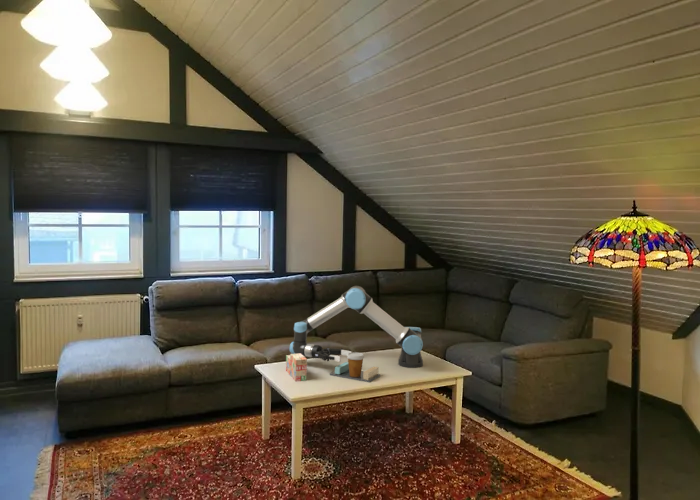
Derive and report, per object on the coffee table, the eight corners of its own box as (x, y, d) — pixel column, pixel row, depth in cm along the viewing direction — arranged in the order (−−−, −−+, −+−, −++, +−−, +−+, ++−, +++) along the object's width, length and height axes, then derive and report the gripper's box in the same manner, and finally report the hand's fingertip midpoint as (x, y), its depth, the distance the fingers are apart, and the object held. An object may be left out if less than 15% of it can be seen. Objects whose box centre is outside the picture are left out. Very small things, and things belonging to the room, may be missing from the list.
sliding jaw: (334, 373, 316) (334, 367, 315) (345, 368, 327) (345, 361, 327) (339, 374, 314) (339, 368, 314) (350, 368, 326) (350, 362, 326)
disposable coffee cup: (366, 374, 315) (367, 353, 314) (357, 378, 307) (357, 357, 307) (352, 371, 321) (353, 351, 320) (343, 375, 313) (343, 354, 312)
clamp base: (329, 375, 317) (329, 366, 316) (341, 369, 329) (341, 360, 329) (369, 382, 305) (369, 373, 305) (380, 376, 318) (380, 367, 317)
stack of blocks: (285, 370, 324) (286, 349, 323) (296, 370, 326) (296, 349, 325) (295, 381, 304) (295, 359, 303) (306, 380, 306) (307, 358, 305)
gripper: (324, 352, 340) (355, 358, 330) (302, 362, 318) (334, 368, 308) (324, 340, 340) (355, 345, 330) (302, 349, 318) (335, 354, 308)
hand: (345, 356), depth 319 cm, fingers open, 13 cm apart
